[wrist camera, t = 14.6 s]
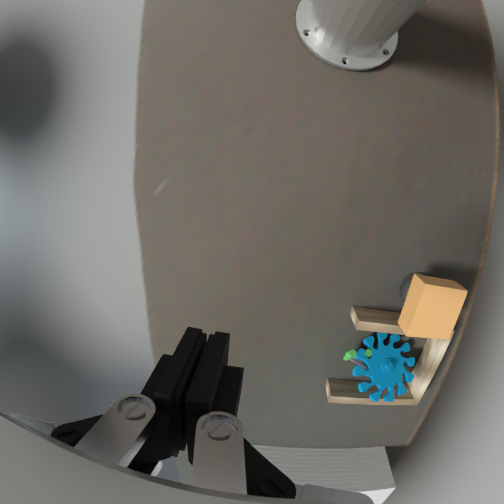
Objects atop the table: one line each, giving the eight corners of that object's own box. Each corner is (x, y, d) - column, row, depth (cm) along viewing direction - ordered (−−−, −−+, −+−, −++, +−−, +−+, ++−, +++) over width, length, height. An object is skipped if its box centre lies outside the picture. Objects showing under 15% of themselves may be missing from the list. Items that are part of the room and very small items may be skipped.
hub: (414, 273, 32) (425, 283, 29) (455, 280, 32) (467, 291, 28) (397, 322, 34) (406, 336, 31) (438, 326, 33) (448, 339, 30)
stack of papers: (215, 467, 51) (206, 508, 41) (216, 438, 48) (205, 484, 38) (366, 473, 49) (373, 512, 39) (384, 445, 46) (395, 487, 36)
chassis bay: (352, 306, 38) (359, 320, 34) (442, 317, 38) (454, 331, 34) (325, 384, 42) (328, 402, 38) (409, 389, 42) (417, 404, 38)
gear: (425, 346, 37) (404, 412, 33) (402, 354, 43) (381, 412, 38) (365, 313, 38) (338, 383, 34) (346, 324, 43) (320, 385, 39)
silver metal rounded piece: (405, 270, 36) (425, 289, 30) (432, 275, 36) (454, 293, 30) (395, 300, 37) (412, 324, 31) (422, 304, 37) (441, 327, 31)
